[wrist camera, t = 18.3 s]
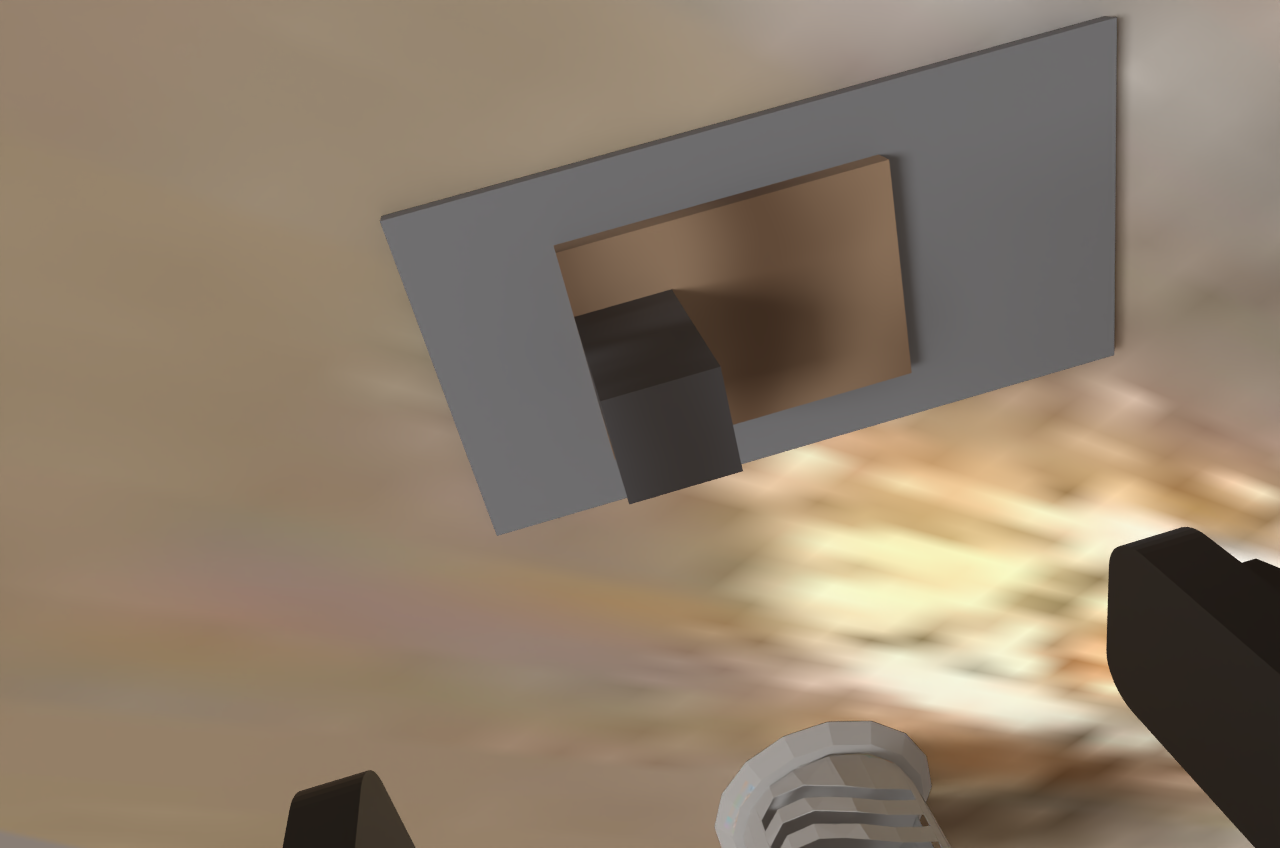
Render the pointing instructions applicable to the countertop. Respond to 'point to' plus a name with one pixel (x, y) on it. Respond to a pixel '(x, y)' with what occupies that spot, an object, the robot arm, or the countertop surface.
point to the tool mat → (767, 154)
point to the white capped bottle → (832, 792)
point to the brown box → (736, 316)
